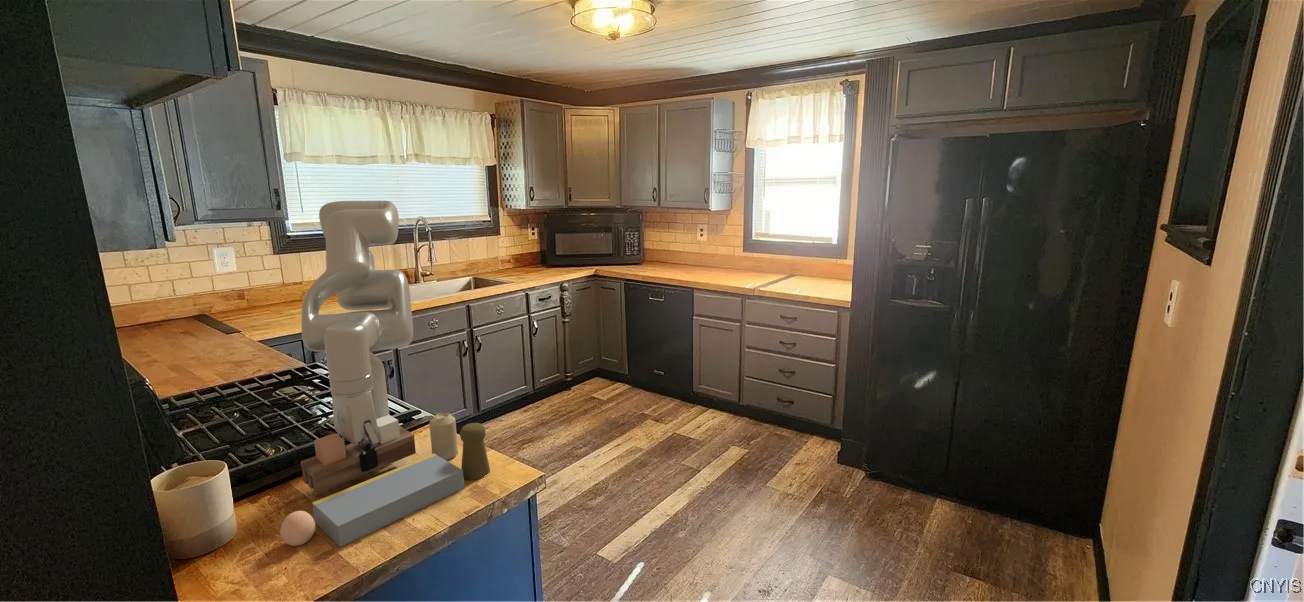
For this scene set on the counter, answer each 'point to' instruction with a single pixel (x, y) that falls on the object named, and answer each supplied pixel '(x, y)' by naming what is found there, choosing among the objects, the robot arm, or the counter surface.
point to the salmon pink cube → (330, 449)
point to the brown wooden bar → (355, 462)
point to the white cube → (387, 429)
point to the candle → (443, 436)
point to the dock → (386, 498)
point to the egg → (297, 528)
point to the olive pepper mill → (474, 452)
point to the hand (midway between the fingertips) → (361, 462)
